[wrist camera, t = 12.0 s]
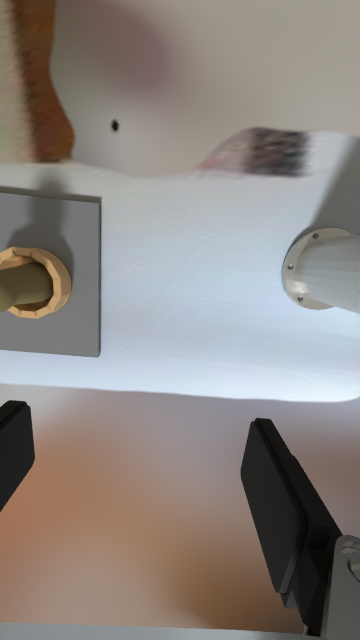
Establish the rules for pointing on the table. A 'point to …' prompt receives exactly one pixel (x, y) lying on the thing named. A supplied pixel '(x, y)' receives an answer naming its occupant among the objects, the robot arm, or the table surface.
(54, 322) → the slate board
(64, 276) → the tan shallow bowl
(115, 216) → the table surface
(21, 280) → the cork
